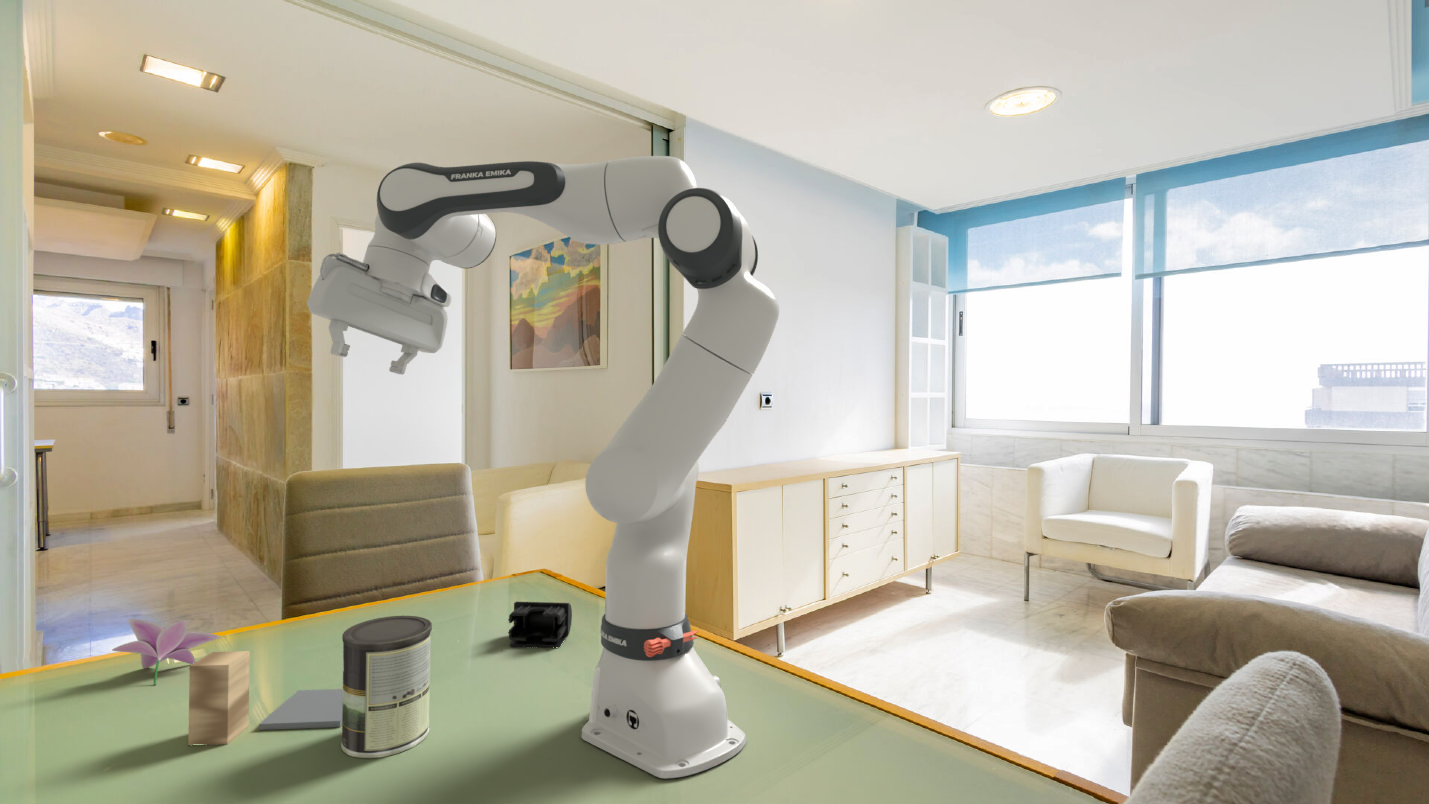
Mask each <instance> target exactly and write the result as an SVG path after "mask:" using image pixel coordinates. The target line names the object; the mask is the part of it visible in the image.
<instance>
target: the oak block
mask: <svg viewBox="0 0 1429 804" xmlns="http://www.w3.org/2000/svg"><path fill="white" fill-rule="evenodd" d="M250 652H251V651H250V650H246V651H245V650H244V651H243V650H241V651H237V650H236V651H234V650H233V651H212V652H211V653H208V654H207V655H205V656H204V657H202V658H201V659H199V660H197V661H195V663H194V664H189V679H188V681H189V684H188V685H189V686H188V688H189V690H188V691H189V692H188V735H187V736H188V742H187V743H188V745H193V744H209V745H208V746H221V744H222V746H226V745H225V744H227V745H229V744H230V743H231V742H232V741H234V740H235V739H236V738H238V736H239V735H241V734H242V733H243V732H244V731H245V730H247V729H248V728H249V725H250V724H249V722H250V721H249V719H250V717H249V716H250V711H249V710H250V709H249V708H250V669H251V668H250V667H251V666H250V665H251V663H250V659H251V658H250V657H251V655H250V654H251V653H250ZM241 732H242V733H241ZM234 738H235V739H234ZM228 743H229V744H228ZM210 744H211V745H210ZM212 744H213V745H212ZM214 744H215V745H214ZM216 744H217V745H216ZM218 744H220V745H218ZM223 744H224V745H223Z"/></svg>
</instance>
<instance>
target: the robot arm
mask: <svg viewBox="0 0 1429 804" xmlns="http://www.w3.org/2000/svg"><path fill="white" fill-rule="evenodd" d="M376 207H377V212H376V213H377V214H376V217H375V220H374V235H373V237H372V239H371V240H370V242H369V243H368V245H367V247H366V251H365V254H364V257H363V261H359V260H357V259H354V258H353V257H352V258H351V257H349V256H348V255H346V254H344V253H340V252H337V253H330V254H329V253H328V254H327V255H326V256H324V258H323V259H322V261H321V265H320V268H319V275H318V278H317V279H316V281H315V283H314V285H313V287H312V289H311V292H310V294H309V297H308V299H307V301H306V302H307V303H306V305H307V308H308V311H309V313H311V314H313V315H315V316H318V317H320V318H321V317H322V318H324V319H327V320H329V321H330V322H329V325H328V331H329V334H330V338H331V341H332V345H331V347H330V354H331V355H334V356H338V357H340V358H341V357H343V358H346V357H347V356H348V354H349V352H348V351H350V347H351V345H350V344H348V343H347V344H346V341H345V336H344V335H345V334H344V332H347V331H348V329H349V327H350V328H353V329H354V330H355V329H356V330H358V331H360V332H361V331H362V332H363V333H366V334H370V335H373V336H375V337H378V338H381V339H384V340H386V341H390V342H393V343H396V344H398V345H401V349H400V352H401V353H402V355H401V356H400V357H399V358H398V359H397V360H391V362H390V367H389V372H390V373H394V374H396V375H405V373H406V369H407V365H408V364H410V362H412V361H413V359H414V358H416V357H417V355H418V353H419V352H421V353H426V354H427V353H428V354H435V353H437V352H438V351H440V350H441V348H442V346H443V344H444V340H445V336H446V331H447V326H448V319H449V318H448V312H447V310H446V309H445V308H447V307H449V306H450V305H451V303H452V298H453V297H452V295H451V293H450V292H448V291H447V290H446V289H445V288H444V287H443V286H442V285H441V284H440V283H439V282H438V281H437V280H436V279H435V278H434V277H433V276H432V274H430V273H429V271H430V268H431V264H432V262H434V261H441V262H442V263H445V264H447V265H451V266H453V267H456V268H460V269H464V270H465V269H473V268H475V267H477V266H479V265H481V264H482V263H484V262H485V261H486V260H487V259H488V258H489V257H490V256H491V254H492V252H493V251H494V248H495V245H496V242H497V228H496V226H495V223H494V221H493V220H492V219H491V218H490V217H489V216H488V214H500V213H513V214H519V215H523V216H526V217H530V218H531V219H534V220H537V221H539V222H541V223H543V224H545V225H547V226H549V227H551V228H553V229H554V230H556V231H558V232H560V233H561V234H563V235H565V236H567V237H569V238H570V239H572V240H574V241H577V242H579V243H581V244H586V245H614V244H621V243H626V242H633V241H636V240H637V241H638V240H642V239H643V240H644V239H659V243H660V247H661V250H663V253H664V255H665V257H666V259H667V260H668V262H670V264H671V266H673V267H674V268H675V269H676V270H677V272H679V273H680V274H681V276H683V278H684V279H685V280H686V281H687V282H688V284H690V285H691V286H692V288H694V289H696V290H697V295H698V299H697V304H696V306H695V309H694V312H693V314H692V316H691V319H690V320H689V321H688V323H687V325H686V327H685V328H684V330H683V331H682V334H681V335H680V336H679V339H678V340H677V343H676V344H675V346H674V348H673V350H672V351H671V353H670V355H669V356H668V358H667V360H666V362H665V363H664V365H663V367H662V369H661V371H660V372H659V374H658V376H657V377H656V378H655V381H654V382H653V384H652V385H651V387H650V388H649V390H647V392H646V393H645V395H644V396H643V398H642V399H641V400H640V402H638V404H637V405H636V406H635V407H634V409H633V410H632V411H631V412H630V414H628V417H627V418H626V419H625V421H624V422H623V423H622V425H620V427H619V429H618V430H617V432H616V433H615V434H614V436H613V437H612V438H611V440H610V441H609V442H608V444H607V445H606V446H605V447H604V449H602V451H601V452H600V453H599V454H598V455H596V457H595V458H594V459H593V460H592V462H591V463H590V465H589V466H588V469H587V472H586V476H585V493H586V496H587V499H588V501H589V503H590V506H591V507H592V508H593V510H594V511H595V512H596V513H597V515H599V516H600V517H601V518H604V519H605V520H608V521H610V522H613V523H616V526H615V529H614V535H613V539H612V542H611V546H610V548H609V551H608V553H607V556H606V561H605V590H604V591H605V592H604V595H605V596H604V597H605V598H604V599H605V601H604V603H605V605H604V606H605V607H604V614H603V615H602V617H601V624H600V643H601V646H602V647H603V648H602V652H601V655H600V659H599V660H598V662H597V665H596V667H595V669H594V671H593V679H592V688H591V697H590V705H589V707H590V708H589V716H588V721H587V722H586V723H585V725H584V726H582V729H581V739H582V740H584V741H586V742H587V743H589V744H591V745H593V746H595V747H597V748H599V749H601V750H603V751H605V752H607V753H609V754H611V755H613V756H614V757H617V758H619V759H621V760H623V761H625V762H627V763H629V764H631V765H633V766H635V767H636V768H638V769H641V770H643V771H645V772H646V773H649V774H651V775H652V776H654V777H656V778H660V779H675V778H682V777H683V778H684V777H687V776H691V775H694V774H698V773H700V772H703V771H706V770H708V769H711V768H713V767H715V766H718V765H720V764H722V763H724V762H726V761H728V760H729V759H731V758H733V757H734V756H735V755H737V754H738V753H740V751H741V750H742V749H744V747H745V746H746V744H747V743H746V742H747V738H746V737H747V736H746V733H745V732H744V731H743V730H742V729H741V728H739V727H738V726H737V725H736V724H734V723H733V722H732V721H731V720H730V719H729V718H728V709H727V708H728V707H727V700H726V697H725V694H724V693H725V692H724V691H723V690H722V689H723V688H722V683H721V680H720V678H719V677H718V676H717V675H713V674H711V671H709V669H708V668H707V666H706V664H705V663H704V662H703V660H702V659H701V657H700V656H699V654H698V653H697V652H696V650H695V648H694V640H696V639H698V636H695V635H696V634H697V633H698V632H699V631H698V630H692V629H691V628H692V627H691V623H690V620H689V615H688V614H687V613H686V597H687V596H686V593H687V592H686V587H687V586H686V584H687V559H688V551H689V549H688V548H689V543H690V535H691V531H692V530H691V529H692V522H693V516H694V508H695V497H696V488H697V482H698V477H699V472H700V471H699V461H698V460H699V459H700V457H701V456H702V454H703V453H704V451H705V450H706V449H707V448H708V446H709V445H710V443H712V440H713V439H714V438H715V437H716V436H717V434H718V432H720V430H721V429H722V428H723V426H724V425H725V423H726V422H727V419H728V418H729V416H730V414H732V411H733V410H734V408H735V406H736V404H737V402H738V401H739V399H740V398H741V396H742V395H743V393H744V391H745V389H746V388H747V386H748V384H749V383H750V381H751V379H752V377H753V375H754V374H755V371H757V368H758V367H759V365H760V363H761V360H762V359H763V356H764V355H765V352H766V351H767V347H768V346H769V344H770V341H771V338H772V337H773V333H774V331H775V328H776V325H777V322H778V320H779V317H780V305H779V303H778V299H777V298H776V296H775V294H774V293H773V292H772V291H771V289H769V287H767V286H766V285H765V284H764V283H763V282H761V281H760V280H757V279H756V278H755V277H754V274H755V272H756V269H757V265H758V260H759V253H758V252H759V251H758V245H757V243H756V240H755V238H754V236H753V235H752V232H751V228H750V226H749V224H748V222H747V220H746V218H745V217H744V216H743V215H742V214H741V212H740V211H739V210H738V209H737V207H736V206H735V204H734V203H733V202H732V201H731V200H730V199H729V198H727V197H726V196H725V195H723V194H722V193H720V192H718V191H716V190H714V189H710V188H704V187H698V183H697V180H696V177H695V175H694V173H693V171H692V170H691V168H690V167H689V165H688V164H687V163H686V162H685V161H683V160H682V159H681V158H678V157H675V156H671V155H670V156H669V155H651V156H650V155H645V156H633V157H624V158H619V159H613V160H612V159H611V160H607V161H600V162H593V163H591V162H589V163H575V164H573V163H572V164H571V163H570V164H568V163H567V164H565V163H552V162H548V161H547V162H545V161H533V160H532V161H531V160H530V161H529V160H528V161H526V160H525V161H511V162H495V163H486V164H485V163H484V164H476V165H475V164H474V165H473V164H472V165H464V166H463V165H460V166H448V167H447V166H446V167H445V166H444V167H443V166H437V165H433V164H428V163H424V162H410V163H406V164H403V165H399V166H398V167H396V168H394V169H392V170H390V171H389V172H387V174H386V175H385V176H384V177H383V178H382V180H381V182H380V183H379V186H378V188H377V192H376Z"/></svg>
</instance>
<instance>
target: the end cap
mask: <svg viewBox="0 0 1429 804" xmlns="http://www.w3.org/2000/svg"><path fill="white" fill-rule="evenodd" d="M508 617H509V618H508V624H512V623H513V625H512V626H511V627H510V629H509V630H508V632H507V634H508V639H509V640H510V642H509V647H510V648H526V649H528V648H527V647H529V648H530V647H531V649H533V648H534V647H535V648H534V649H557V648H556V647H560V646H561V644H562V643H563V641H564V640H565V641H566V639H567V637H568V636H569V635H570V632H571V627H572V621H573V620H572V619H573V609H572V605H571V604H570V603H569V602H556V601H555V602H553V601H552V602H551V601H550V602H549V601H545V602H544V601H543V602H542V601H515V602H514V603H513V611H512V612H511V613H510V614H509V616H508ZM565 638H566V639H565ZM565 641H564V642H565ZM563 644H564V643H563ZM563 644H562V645H563ZM532 647H533V648H532ZM536 647H537V648H536ZM553 647H554V648H553ZM561 647H562V646H561ZM561 647H560V648H561Z"/></svg>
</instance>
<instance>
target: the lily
mask: <svg viewBox="0 0 1429 804" xmlns="http://www.w3.org/2000/svg"><path fill="white" fill-rule="evenodd" d="M128 625H129V626H130V628H131V630H132V631H133V634H134V635H135V637H136V639H137V640H134V641H130V642H127V643H124V644H121V645H119V646H116V647H114V648H112V650H111V651H112V652H120V653H121V652H122V653H132V654H133V653H134V654H140V662H141V667H142V668H143V669H148V668H147V667H149V668H152V667H154V666H155V670H154V678H153V686H156V685H157V680H158V679H157V678H158V672H159V670H158V669H159V665H160V663H162V662H163V661H165V660H168V659H170V660H171V659H172V660H174V661H177V662H182V663H186V664H189V665H192V664H193V663H195V662H196V659H195V656H194V654H193V652H192V651H191V649H194V648H195V647H198V646H200V645H203V644H206V643H209V642H213V641H216V640H218V639H220V638H221V636H220V635H218V634H214V633H211V632H205V631H204V632H203V631H187V629H188V625H187V621H186V620H179V621H176V622H173V623H172V624H169V625H168V626H167V627H163V626H162V625H160V624H158V623H154V622H152V621H148V620H145V619H139V618H129V619H128ZM155 684H156V685H155Z"/></svg>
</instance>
